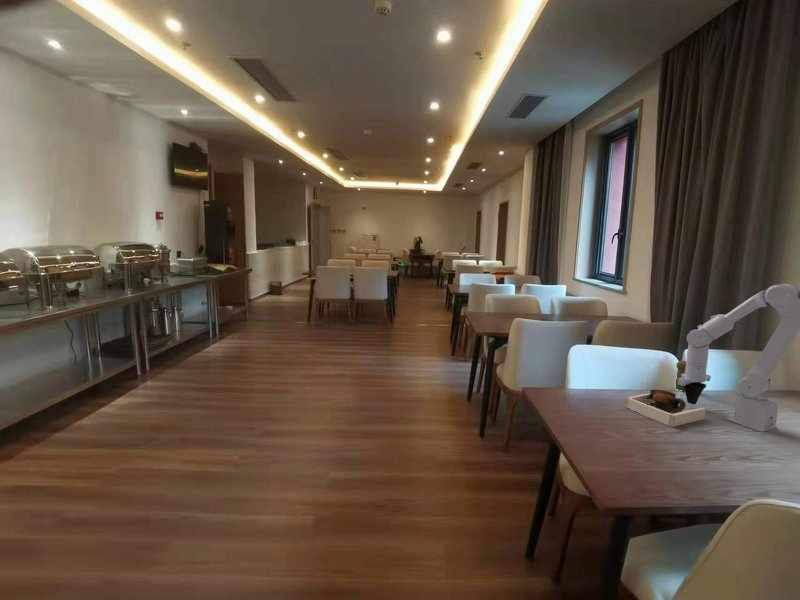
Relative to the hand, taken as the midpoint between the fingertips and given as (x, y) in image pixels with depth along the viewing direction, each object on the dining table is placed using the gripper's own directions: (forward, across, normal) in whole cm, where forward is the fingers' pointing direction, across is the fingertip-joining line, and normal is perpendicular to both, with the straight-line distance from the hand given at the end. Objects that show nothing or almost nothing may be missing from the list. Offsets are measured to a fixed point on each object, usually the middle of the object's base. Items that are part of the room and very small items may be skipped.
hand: (691, 403), depth 142 cm
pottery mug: (+2, +13, -1) cm, 13 cm away
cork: (+2, -16, -13) cm, 21 cm away
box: (+2, +14, 0) cm, 14 cm away
